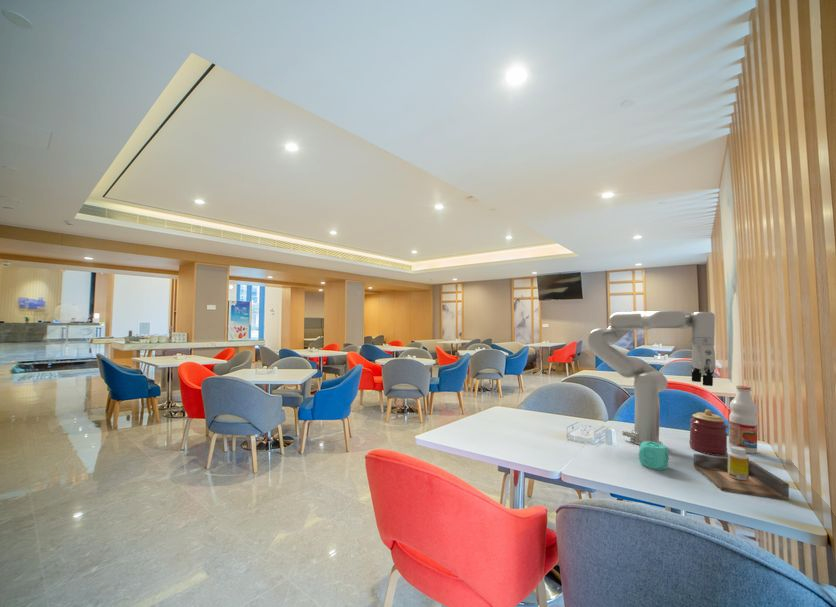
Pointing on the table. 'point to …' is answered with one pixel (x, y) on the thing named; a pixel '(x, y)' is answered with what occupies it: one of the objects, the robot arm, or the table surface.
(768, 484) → the wooden tray
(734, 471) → the supplement bottle
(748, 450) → the fruit juice
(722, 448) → the canister
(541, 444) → the table surface
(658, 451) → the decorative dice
